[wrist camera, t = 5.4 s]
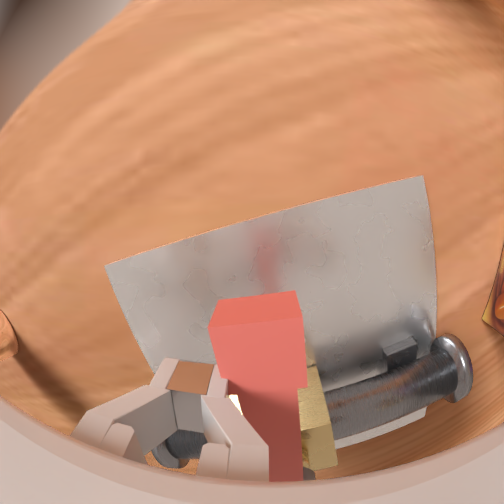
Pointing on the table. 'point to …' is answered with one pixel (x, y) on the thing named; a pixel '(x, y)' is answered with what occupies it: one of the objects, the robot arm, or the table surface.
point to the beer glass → (7, 339)
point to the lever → (266, 372)
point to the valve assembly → (312, 310)
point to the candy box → (496, 301)
